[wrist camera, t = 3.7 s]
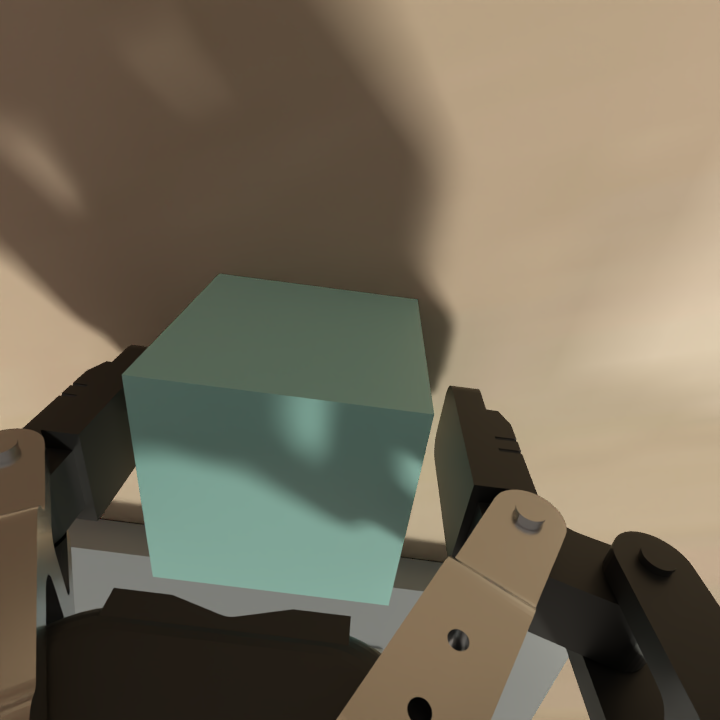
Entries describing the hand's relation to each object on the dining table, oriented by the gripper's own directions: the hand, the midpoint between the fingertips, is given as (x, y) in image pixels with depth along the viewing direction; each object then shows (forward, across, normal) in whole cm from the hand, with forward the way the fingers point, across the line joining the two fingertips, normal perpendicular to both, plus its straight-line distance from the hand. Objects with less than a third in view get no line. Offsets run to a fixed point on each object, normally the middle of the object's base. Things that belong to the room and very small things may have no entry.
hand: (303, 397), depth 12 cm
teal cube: (+1, 0, 0) cm, 1 cm away
